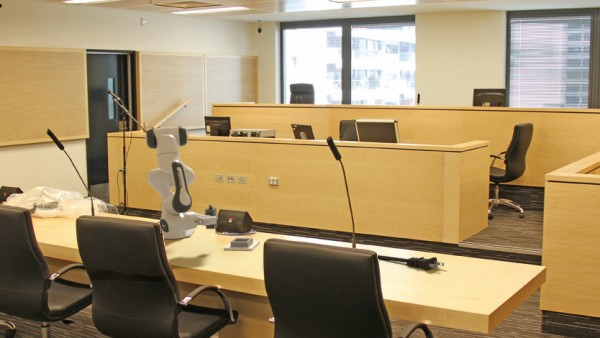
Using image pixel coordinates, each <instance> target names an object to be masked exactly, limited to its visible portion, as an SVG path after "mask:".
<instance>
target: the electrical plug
mask: <svg viewBox="0 0 600 338" xmlns="http://www.w3.org/2000/svg"><path fill="white" fill-rule="evenodd" d="M377 255H378V258H379V260H385V261H393V262H397V263H398V262H399V263H406V266H408V267H414V269H417V268H419V269H424V271H430V270H432V269H439V266H440V267H444V266H445V262H441V261H438V258H437V257H436V256H433V257H430V258H425V257H424V256H422V257H416V256H415V257H414V256H412V257H409V258H403V257H395V256H388V255H380V254H377Z"/></svg>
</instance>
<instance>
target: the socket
mask: <svg viewBox="0 0 600 338" xmlns="http://www.w3.org/2000/svg"><path fill="white" fill-rule="evenodd" d="M260 243H261V242H260V241H254V238H253V237H235V238H234V239H232V240H230V242H229V243H228V244H227V245H225V246H224V247H223V250H224V251H253V250H254V249H255V248H257V247H258V246H259V245H260Z"/></svg>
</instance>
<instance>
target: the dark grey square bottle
mask: <svg viewBox="0 0 600 338" xmlns="http://www.w3.org/2000/svg"><path fill="white" fill-rule="evenodd" d="M204 214H205V215H210V216H215V215H216V216H218V215H217V214H218V213H217V208H216V207H213V204H208V207H207V208H205V209H204ZM216 228H218V219H216V224H212V225H205V229H206V230H215V229H216Z"/></svg>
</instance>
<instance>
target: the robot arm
mask: <svg viewBox="0 0 600 338" xmlns="http://www.w3.org/2000/svg"><path fill="white" fill-rule="evenodd" d="M144 138H145V139H144V140H145V143H146V145H147V147H148V148H150V149H153V150H156V159H157V160H156V161H157V165H158V167H156V168H152V169H151V170H149V172H148V173H147V177H146V178H147V179H146V180H147V182H148V184H149V185H150V187H152V188H153V189H154V190H155V191H157V193H158V195H160V198H161V204H160V210H161V217H160V219H159V227H160V226H161V227H160V230H161V229H162V231H163V235H164V238H163V240H164V239H165V240H178V239H183V238H189V237H192V235H193V234H194V232H195V229H197V227H198V226H199V225H201V226H206V225H212V224H216V219H217V220H218V218H219V216H218V215H217V216H216V215H215V216H210V215H205V213H199V212H195V211H189V210H191V208H192V206H193V200H192V196H191V194H190V191H189V189H188V186H191V185H193V183H194V182H195V178H196V174H195V172H194V170H193V169H192V168H191V167H189V166H188V165H186V164H185V163H184V162H183V161H182V159H181V155H180V149H179V148H180V147H183V146H186V144H188V141H189V132H188V130H187V128H186V127H185V126H181V125H179V126H164V127H163V126H162V127H156V128H155V127H154V128H149V129H148V130H147V131H146V133H145V137H144ZM171 188H174V191H172V189H171Z"/></svg>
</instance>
